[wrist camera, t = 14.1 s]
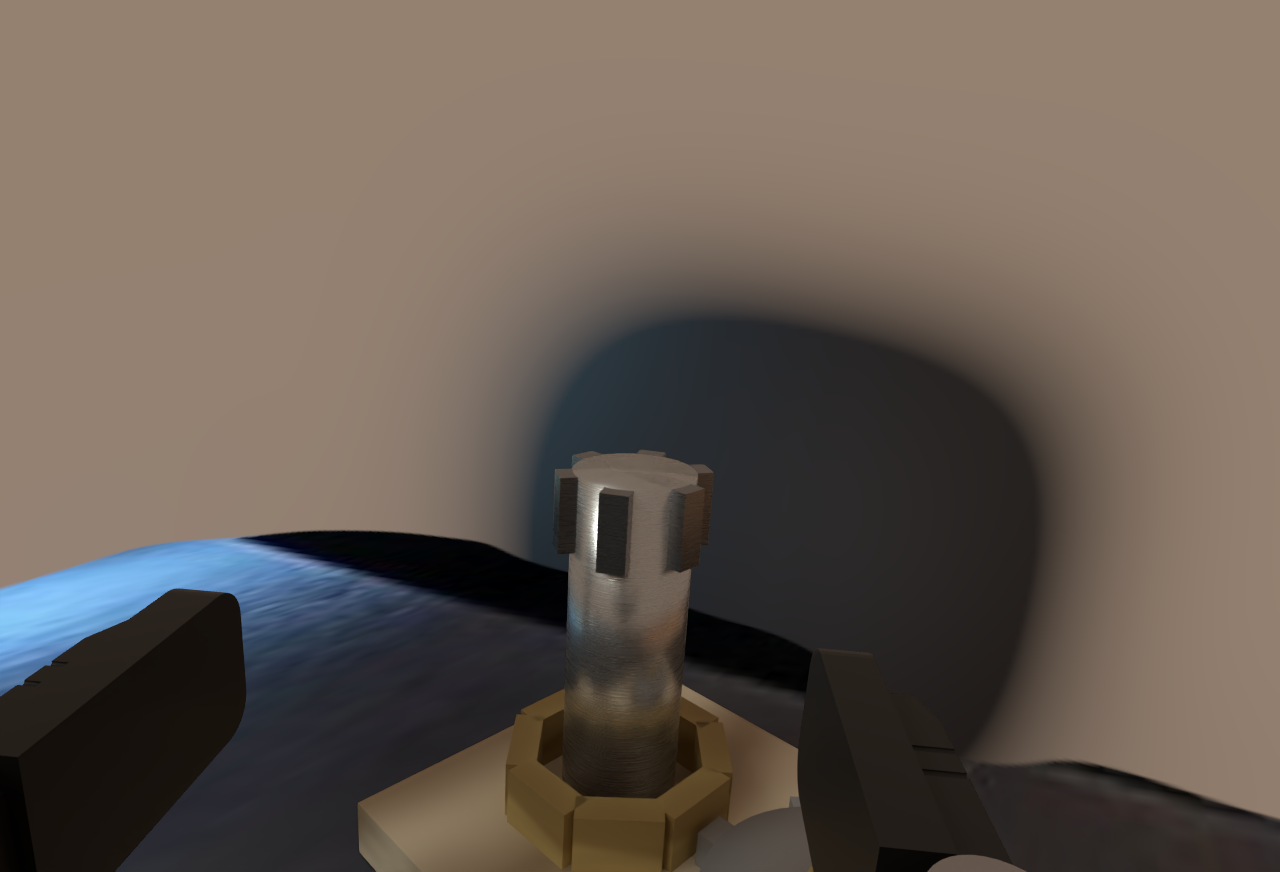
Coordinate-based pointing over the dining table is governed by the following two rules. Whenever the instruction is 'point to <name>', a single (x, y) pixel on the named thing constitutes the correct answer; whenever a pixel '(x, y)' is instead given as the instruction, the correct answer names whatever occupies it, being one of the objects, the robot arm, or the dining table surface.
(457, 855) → the gear board
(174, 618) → the robot arm
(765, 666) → the dining table surface
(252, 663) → the dining table surface
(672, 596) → the pinion shaft
